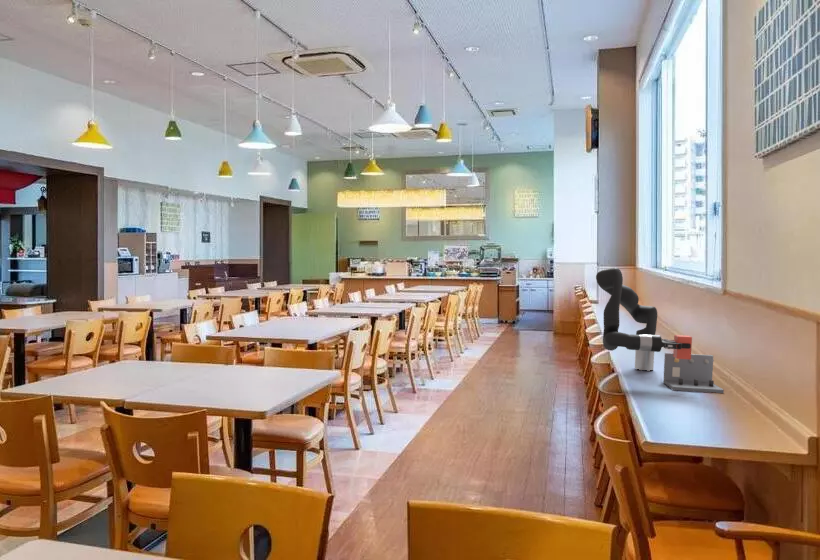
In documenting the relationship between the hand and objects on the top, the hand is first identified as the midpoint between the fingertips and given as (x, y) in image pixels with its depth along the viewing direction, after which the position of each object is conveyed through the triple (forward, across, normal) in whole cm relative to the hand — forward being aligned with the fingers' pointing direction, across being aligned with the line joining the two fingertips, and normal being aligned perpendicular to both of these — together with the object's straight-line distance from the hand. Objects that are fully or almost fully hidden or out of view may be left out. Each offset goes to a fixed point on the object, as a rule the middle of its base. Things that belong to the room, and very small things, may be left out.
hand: (688, 345), depth 282 cm
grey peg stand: (+3, +2, +19) cm, 20 cm away
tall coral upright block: (-2, 0, +6) cm, 6 cm away
